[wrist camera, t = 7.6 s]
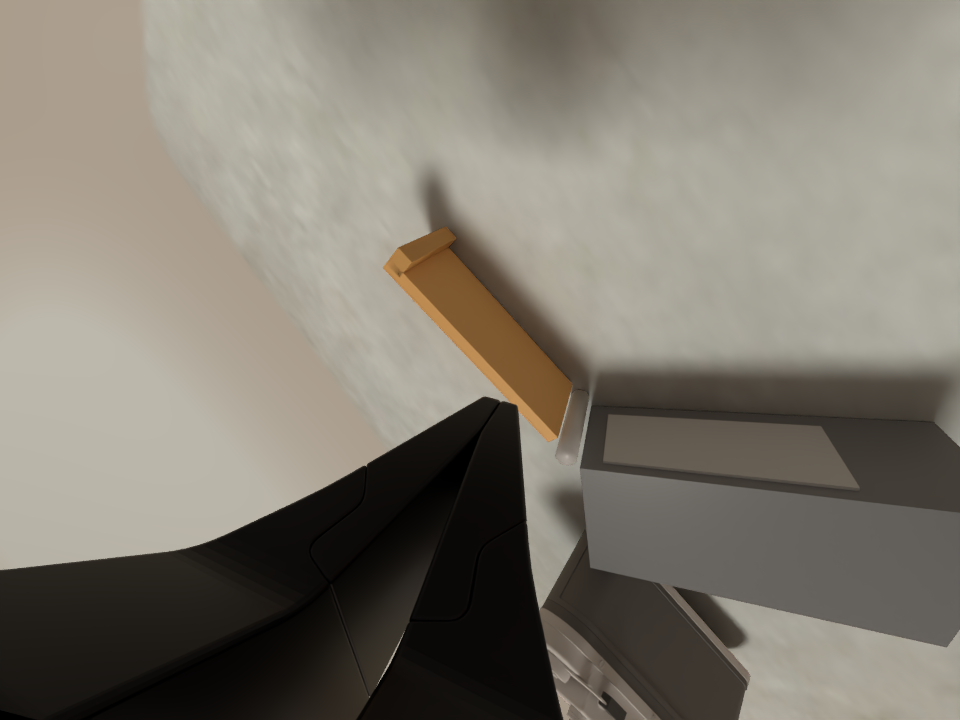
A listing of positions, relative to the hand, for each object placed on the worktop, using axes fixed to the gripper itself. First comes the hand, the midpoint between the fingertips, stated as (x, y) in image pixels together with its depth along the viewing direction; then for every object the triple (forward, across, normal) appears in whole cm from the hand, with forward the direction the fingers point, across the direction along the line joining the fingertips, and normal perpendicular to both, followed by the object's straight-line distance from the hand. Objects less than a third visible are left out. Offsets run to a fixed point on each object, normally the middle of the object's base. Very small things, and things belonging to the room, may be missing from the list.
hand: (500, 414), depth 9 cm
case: (+11, -10, +9) cm, 18 cm away
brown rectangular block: (+11, +3, +3) cm, 12 cm away
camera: (+12, -8, +24) cm, 28 cm away
